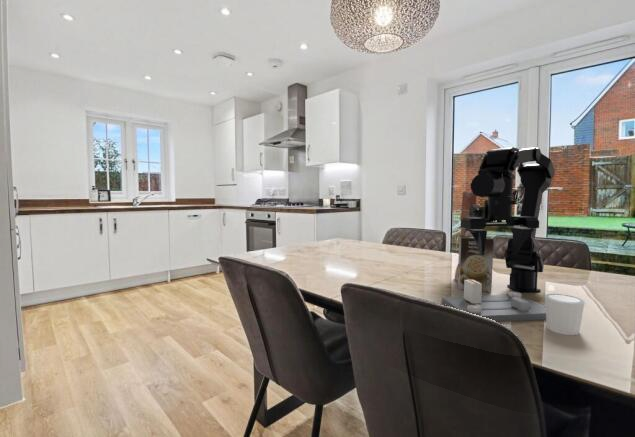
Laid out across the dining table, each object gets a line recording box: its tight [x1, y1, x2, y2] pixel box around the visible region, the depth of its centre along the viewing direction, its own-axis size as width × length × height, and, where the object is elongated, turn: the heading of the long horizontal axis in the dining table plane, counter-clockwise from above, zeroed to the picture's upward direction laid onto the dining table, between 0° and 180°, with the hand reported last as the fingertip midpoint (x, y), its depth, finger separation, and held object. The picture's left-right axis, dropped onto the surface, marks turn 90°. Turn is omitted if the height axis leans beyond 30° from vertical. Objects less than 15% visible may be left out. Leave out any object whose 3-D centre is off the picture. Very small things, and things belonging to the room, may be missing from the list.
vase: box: [454, 190, 478, 282], centre depth 112 cm, size 10×7×30 cm
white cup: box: [544, 293, 585, 336], centre depth 71 cm, size 7×7×7 cm
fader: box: [463, 279, 483, 303], centre depth 85 cm, size 2×4×5 cm, turn 4°
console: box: [441, 291, 546, 323], centre depth 83 cm, size 22×14×4 cm, turn 94°
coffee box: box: [457, 234, 494, 293], centre depth 102 cm, size 9×6×16 cm
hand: (498, 254), depth 89 cm, fingers open, 9 cm apart
